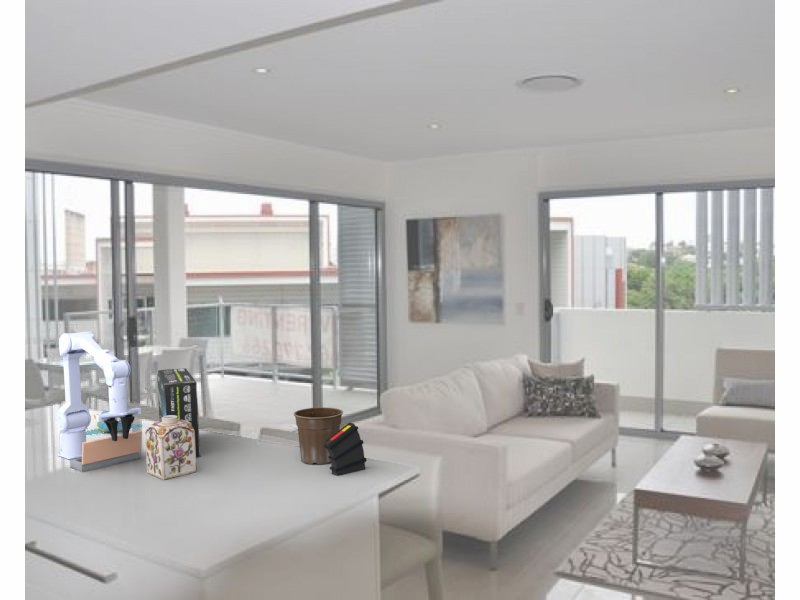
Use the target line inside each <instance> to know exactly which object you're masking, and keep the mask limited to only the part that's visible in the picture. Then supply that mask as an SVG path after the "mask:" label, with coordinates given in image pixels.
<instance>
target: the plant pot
mask: <svg viewBox="0 0 800 600" xmlns="http://www.w3.org/2000/svg"><path fill="white" fill-rule="evenodd" d="M343 414H344V411H343V410H342V409H340V408H337V407H321V406H320V407H308V408H307V407H306V408H301V409H298V410H296V411H294V412H293V415H294V418H295V424H296V426H297V434H298V443H299V453H300V461H301V462H302V463H304V464H308V465H314V464H317V465H328V464H331V459H329V458H328V456H330V455H329V452H328V450H327V448H324V445H325V443H324V441H325V440H327V439H328V438H329V437H331V436H332V435H333V434H335V433H336V432H337V431H339V430H340V429H341V424H342V417H343Z"/></svg>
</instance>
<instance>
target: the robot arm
mask: <svg viewBox="0 0 800 600" xmlns="http://www.w3.org/2000/svg"><path fill="white" fill-rule="evenodd" d="M58 346H59V347H58V348H59V349H58V350H59V356H60V357H62V360H63V380H64V381H63V382H64V397H65V403H64V404H63V405H62V406H61V407H59V409H58V410H57V417H56V422H55V423H56V426H57V429H58V430H59V431H60V432H61V433H60V434H59V453H57V454H56V455H57V456H59V457H61V458H64V459H67V460H73V459H77V458H82V443H84V442H87V436H86V432H87V430H88V427H89V426H90V424H91V421H92V417H91V416H92V415H91V414H90V410H89V406H88V405H87V404H85V403H83V402H82V387H81V369H80V368H81V367H80V365H81V364H80V358H81V357H82V356H83V355H84V354H85V353H88V354H89V355H90V356H92V357H93V358H94V359H93V361H94V363H95V364H96V365H97V367H99V368H100V369H101V370H102V371H103V375H104V378H105V383H106V385H107V387H108V409H109V410H108V411H109V412H107V413H103V414H101V413H100V414H98V415H97V414H96V415H95V416H96V419H95V422H96V421H98V422H101V421H104V423H105V424H106V426H107V427H108V429H109V431H110V432H109V434H110V437H112V441H117V438H118V437H117V436H118V431H117V427H118V421H119V420H120V421H121V422H120V423H121V425H122V430H121V431H122V432H121V435H123V438H124V439H128V435H129V433H130V430H131V429H130V428H131V425H133V422H134V421H135V415H141V414H142V408H141V407H133V408H129V399H128V398H129V397H128V394H129V393H128V392H129V391H128V378H129V377H130V374H131V366H130V364H129V362H128V361H127V360H125V359H123V360H122V359H118V357H117V356H116V355H114V354H113V353H112V352H111V351H110V349H103V348H102V347H101V346H100V345H99V344H98V343H97V342H96V337H95V334H93V332H92V331H90V330H87V331H82V332H81V331H79V332H69V333H67V332H66V333H62V334H61V336H60V337H59V339H58ZM115 418H117V419H119V420H117V421H116V419H115Z"/></svg>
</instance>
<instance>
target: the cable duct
mask: <svg viewBox="0 0 800 600" xmlns="http://www.w3.org/2000/svg"><path fill="white" fill-rule="evenodd" d="M140 458H141V451H140V452H136V453H132V454H127V455H123V456H119V457H114V458H110V459H106V460H101V461H97V462H93V463H88V464H84V465H82V457H78V458H73V459H69V467H70V469H73V470H75V471H79V472H81V473H83V472H89V471H91V470H95V469H96V470H97V469H100V468H104V466H105V467H108V466H109V467H110V466H113V465H117V464H120V463H124V462H130V461H134V460H137V459H140Z"/></svg>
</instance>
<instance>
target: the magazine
mask: <svg viewBox="0 0 800 600" xmlns="http://www.w3.org/2000/svg"><path fill="white" fill-rule="evenodd" d="M324 443H325V445H324V448H327V450H328V452H329V455H330V456H328V458H329V459H331V463H330V465H331V466H329V470H331V475H333V476H342V475H346V474H350V473H355V472H359V471H364V470H366V463H367V458H366V457H365V451H364V446H363V444H364V440H363V439H361V436H360V433H359V427H358V426H356V424H355V423H353V422H348V423H346V424H345V425H344V426H342V428H341V427H340V430H339V431H337V432H336V433H335V434H333V435H332V436H331V437H329V438H328V439H327V440H325V441H324Z"/></svg>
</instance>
